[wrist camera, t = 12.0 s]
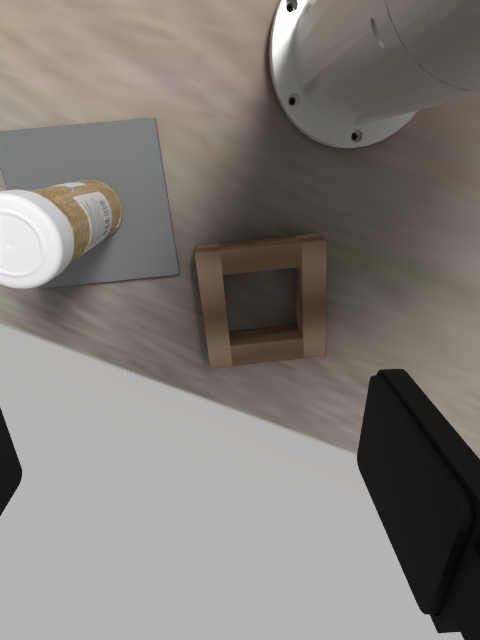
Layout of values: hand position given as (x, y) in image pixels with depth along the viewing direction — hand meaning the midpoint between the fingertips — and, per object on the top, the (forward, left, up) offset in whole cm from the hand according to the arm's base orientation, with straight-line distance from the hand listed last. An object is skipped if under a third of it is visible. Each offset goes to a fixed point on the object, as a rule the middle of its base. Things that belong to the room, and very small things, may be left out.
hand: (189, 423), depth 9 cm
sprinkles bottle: (-3, -8, -24) cm, 25 cm away
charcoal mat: (-3, -9, -24) cm, 26 cm away
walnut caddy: (+6, +4, -24) cm, 25 cm away
